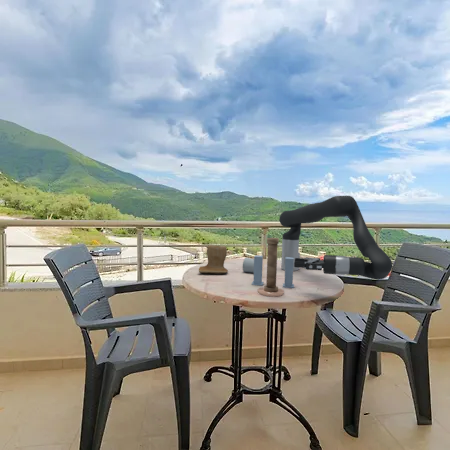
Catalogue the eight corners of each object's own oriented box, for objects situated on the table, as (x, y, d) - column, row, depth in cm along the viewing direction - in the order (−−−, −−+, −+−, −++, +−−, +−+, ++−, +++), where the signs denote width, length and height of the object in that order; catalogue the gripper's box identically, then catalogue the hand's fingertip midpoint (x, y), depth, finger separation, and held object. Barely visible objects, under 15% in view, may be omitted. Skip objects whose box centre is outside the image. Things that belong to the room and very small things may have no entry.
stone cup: (227, 270, 177) (227, 243, 176) (228, 275, 165) (229, 246, 164) (199, 270, 177) (199, 242, 176) (198, 275, 165) (199, 245, 164)
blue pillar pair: (294, 285, 149) (295, 257, 148) (294, 288, 144) (295, 259, 143) (253, 282, 153) (253, 254, 152) (251, 284, 148) (252, 256, 147)
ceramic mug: (256, 274, 169) (257, 260, 168) (241, 272, 172) (242, 258, 172) (262, 271, 179) (263, 257, 178) (248, 269, 182) (249, 256, 181)
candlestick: (272, 287, 140) (274, 237, 138) (280, 291, 135) (282, 238, 133) (261, 289, 137) (263, 237, 135) (269, 293, 132) (271, 239, 130)
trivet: (273, 288, 143) (273, 285, 143) (289, 294, 134) (289, 292, 133) (252, 290, 138) (252, 288, 138) (267, 297, 129) (267, 295, 128)
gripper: (334, 253, 136) (295, 250, 139) (338, 258, 122) (294, 256, 126) (333, 270, 136) (294, 268, 140) (337, 278, 122) (293, 275, 126)
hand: (294, 262), depth 133 cm, fingers open, 8 cm apart
